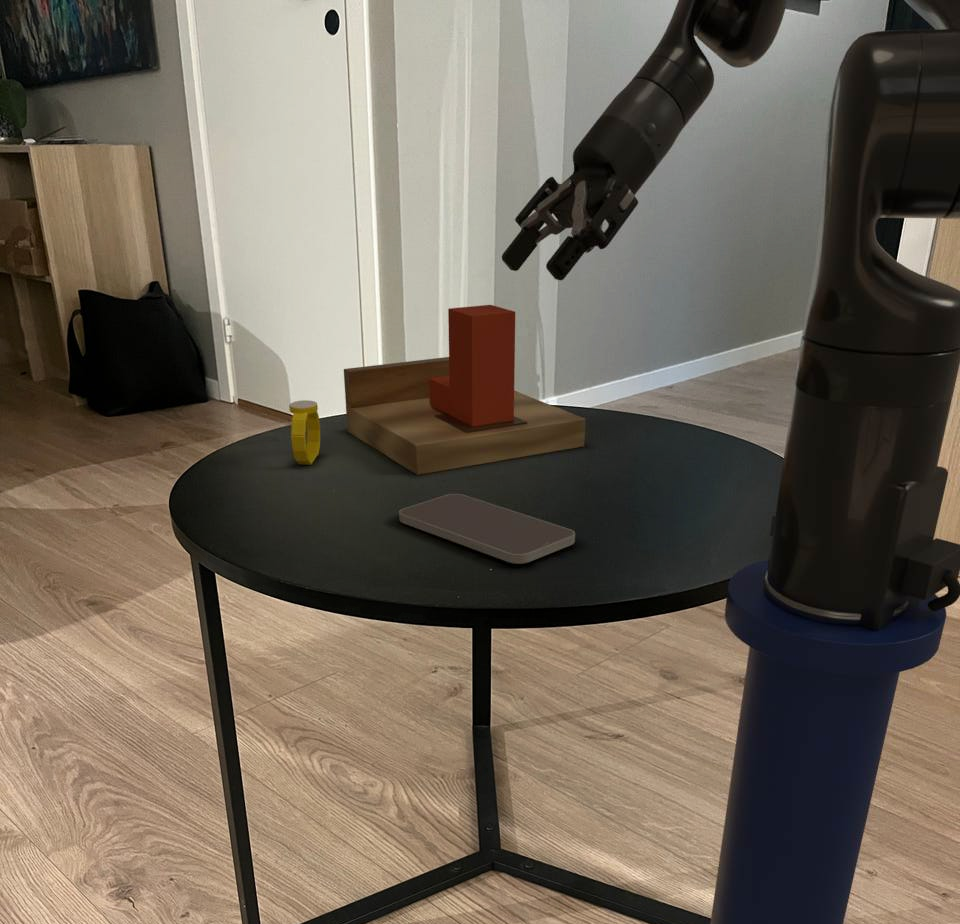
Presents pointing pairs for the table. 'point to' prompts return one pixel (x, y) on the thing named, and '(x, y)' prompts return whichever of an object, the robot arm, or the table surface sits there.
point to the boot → (478, 366)
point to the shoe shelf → (445, 421)
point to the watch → (304, 416)
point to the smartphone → (488, 528)
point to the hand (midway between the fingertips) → (529, 269)
